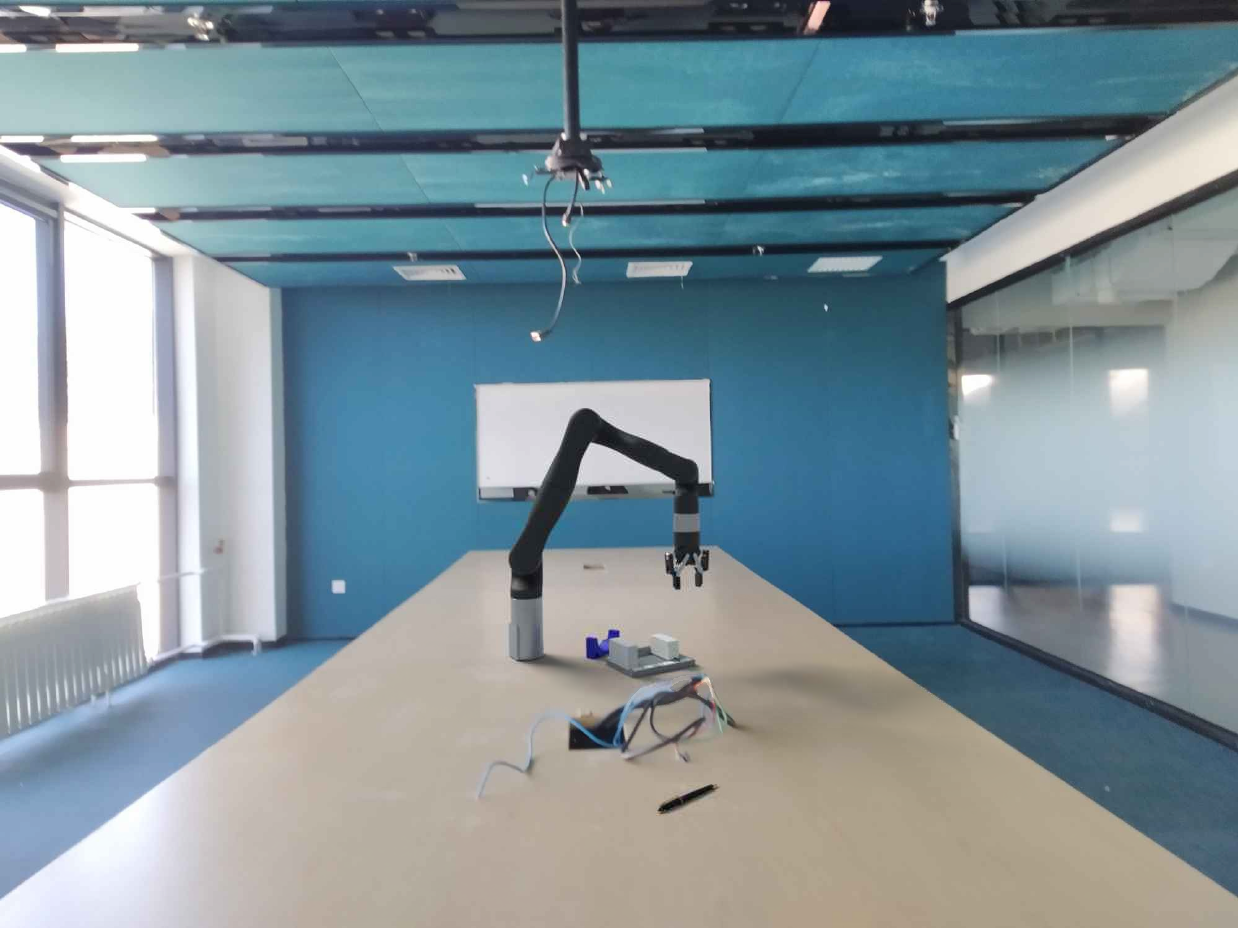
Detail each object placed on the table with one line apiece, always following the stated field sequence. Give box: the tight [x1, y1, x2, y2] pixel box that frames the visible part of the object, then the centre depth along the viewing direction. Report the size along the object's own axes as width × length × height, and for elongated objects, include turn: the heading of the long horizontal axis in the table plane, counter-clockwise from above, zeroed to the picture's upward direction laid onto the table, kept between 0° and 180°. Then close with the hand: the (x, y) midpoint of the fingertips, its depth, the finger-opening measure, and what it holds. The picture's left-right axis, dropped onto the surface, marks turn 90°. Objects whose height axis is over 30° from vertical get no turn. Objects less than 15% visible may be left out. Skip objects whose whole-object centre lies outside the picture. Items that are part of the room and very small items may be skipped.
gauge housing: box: [605, 637, 696, 679], centre depth 194 cm, size 20×14×8 cm
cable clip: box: [585, 628, 621, 660], centre depth 207 cm, size 12×4×6 cm, turn 143°
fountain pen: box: [657, 783, 718, 812], centre depth 118 cm, size 14×1×2 cm, turn 130°
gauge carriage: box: [649, 632, 681, 661], centre depth 196 cm, size 4×12×5 cm, turn 30°
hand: (687, 587), depth 200 cm, fingers open, 6 cm apart
